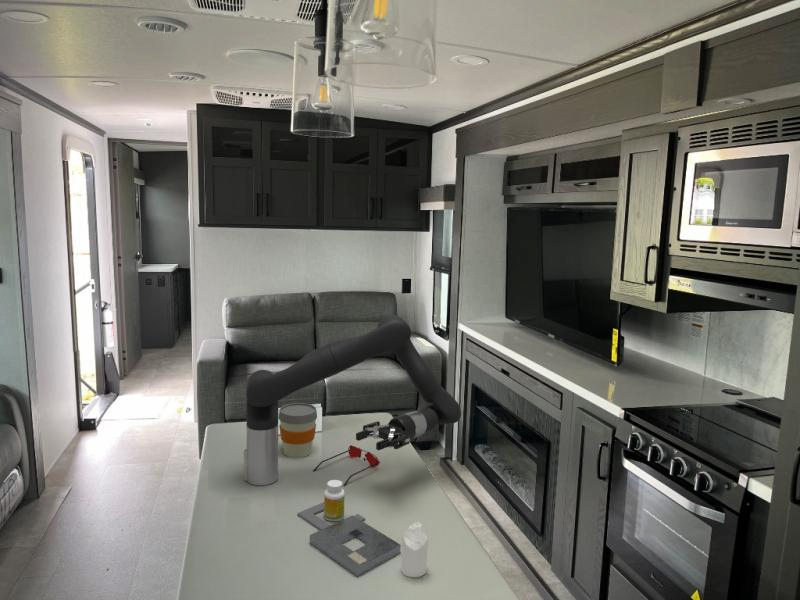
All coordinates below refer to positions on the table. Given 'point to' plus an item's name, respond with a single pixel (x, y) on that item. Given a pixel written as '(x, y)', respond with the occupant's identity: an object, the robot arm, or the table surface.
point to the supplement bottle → (334, 501)
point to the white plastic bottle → (414, 551)
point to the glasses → (356, 453)
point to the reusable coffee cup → (297, 428)
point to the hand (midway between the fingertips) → (366, 441)
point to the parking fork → (317, 522)
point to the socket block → (362, 558)
